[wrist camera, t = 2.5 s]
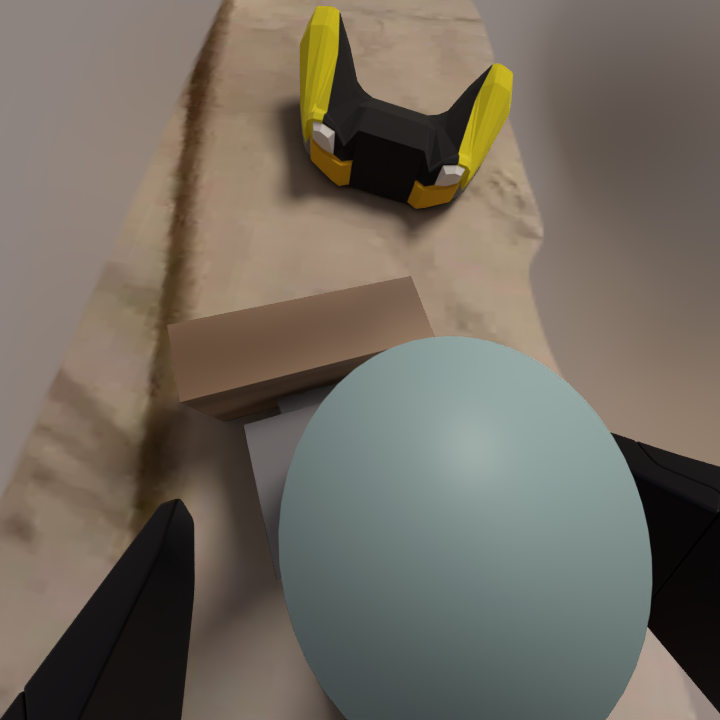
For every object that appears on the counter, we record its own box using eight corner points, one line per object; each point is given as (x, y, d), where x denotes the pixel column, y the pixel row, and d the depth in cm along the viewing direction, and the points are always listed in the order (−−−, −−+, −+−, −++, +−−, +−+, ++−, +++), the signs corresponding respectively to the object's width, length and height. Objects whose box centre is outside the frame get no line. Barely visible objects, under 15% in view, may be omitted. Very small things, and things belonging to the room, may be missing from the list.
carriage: (430, 510, 15) (969, 739, 3) (279, 569, 13) (-70, 1827, 1) (389, 387, 16) (617, 183, 4) (248, 427, 14) (-41, 281, 3)
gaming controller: (310, 83, 25) (273, 173, 22) (310, -14, 20) (262, 85, 17) (484, 139, 26) (473, 232, 23) (526, 61, 21) (519, 167, 18)
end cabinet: (397, 373, 19) (434, 337, 13) (224, 421, 17) (179, 402, 11) (381, 328, 20) (410, 276, 14) (213, 368, 17) (167, 325, 12)
